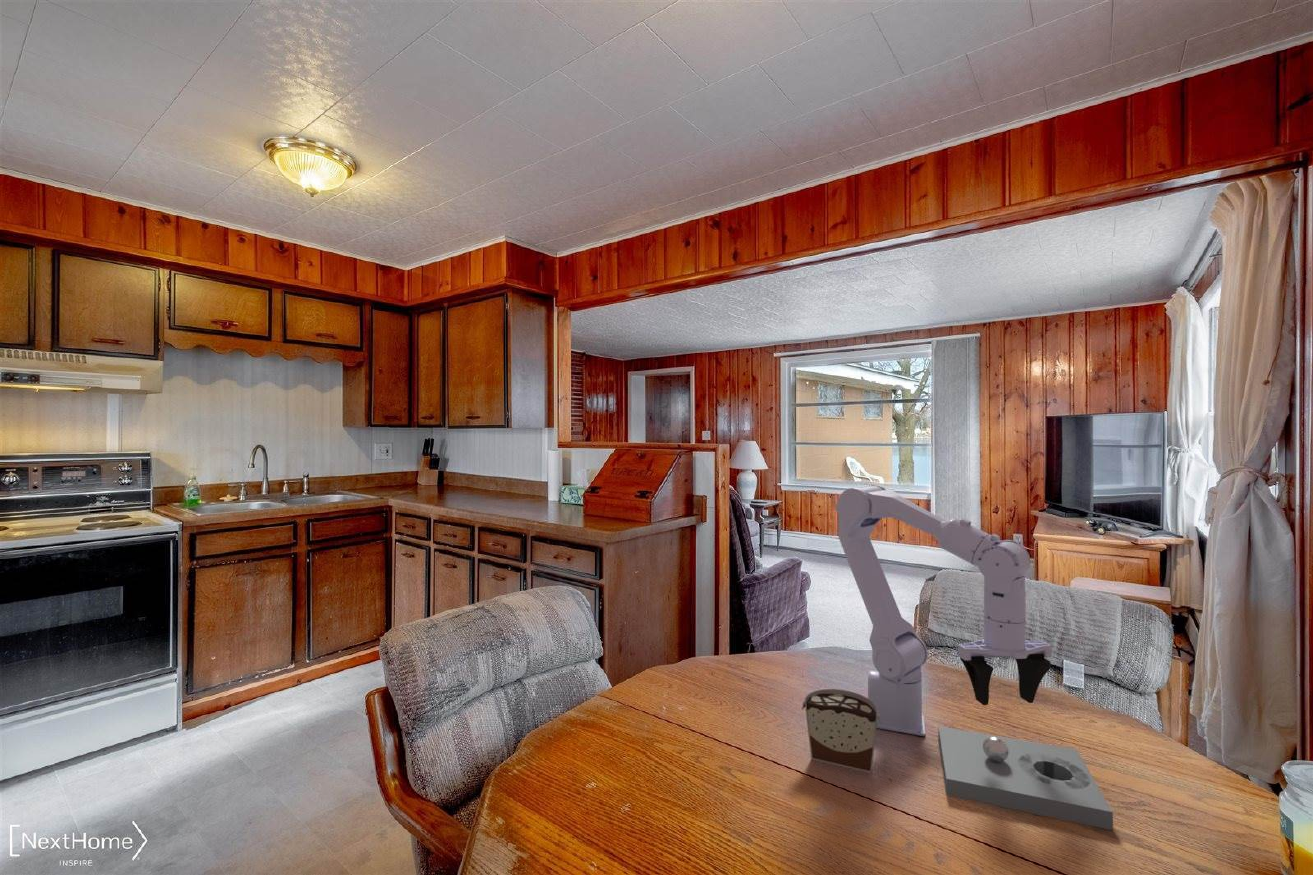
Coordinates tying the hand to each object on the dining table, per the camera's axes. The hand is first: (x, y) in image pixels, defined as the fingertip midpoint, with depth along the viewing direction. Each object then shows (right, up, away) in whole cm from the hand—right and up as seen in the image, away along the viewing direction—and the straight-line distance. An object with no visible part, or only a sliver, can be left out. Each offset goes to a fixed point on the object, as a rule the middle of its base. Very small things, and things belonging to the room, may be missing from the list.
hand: (1004, 701), depth 91 cm
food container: (-25, -11, +3) cm, 27 cm away
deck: (-1, -10, -4) cm, 11 cm away
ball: (-3, -6, -3) cm, 7 cm away
